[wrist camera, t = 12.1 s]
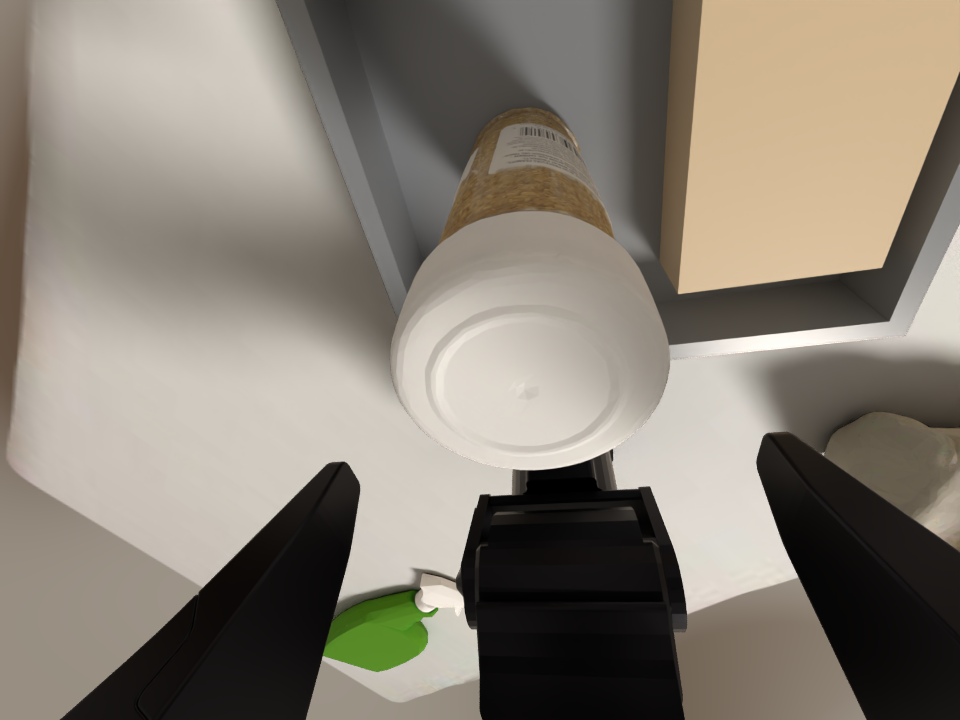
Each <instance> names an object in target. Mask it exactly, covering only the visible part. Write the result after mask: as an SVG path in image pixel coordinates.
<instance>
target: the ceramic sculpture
mask: <svg viewBox="0 0 960 720" xmlns="http://www.w3.org/2000/svg"><path fill="white" fill-rule="evenodd" d="M824 456H825V457H826V458H828V459H829V460H830V461H832V462H833V463H835V464H836V465H838V466H839V467H840V468H842V469H843V470H845V471H846V472H848V473H849V474H850V475H852V476H853V477H855V478H856V479H858V480H859V481H860V482H862V483H863V484H865V485H866V486H868V487H869V488H870V489H872V490H873V491H875V492H876V493H878V494H879V495H880V496H882V497H883V498H885V499H886V500H888V501H889V502H890V503H892V504H893V505H895V506H896V507H897V508H899V509H900V510H902V511H903V512H905V513H906V514H907V515H909V516H910V517H912V518H913V519H915V520H916V521H917V522H919V523H920V524H922V525H923V526H925V527H926V528H927V529H929V530H930V531H932V532H933V533H935V534H936V535H937V536H939V537H940V538H942V539H943V540H945V541H946V542H947V543H949V544H950V545H952V546H953V547H955V548H956V549H957V550H959V551H960V428H929V427H928V426H926V425H924V424H923V423H921V422H919V421H917V420H915V419H912V418H909V417H905V416H900V415H897V414H893V413H888V412H871V413H868V414H865V415H863V416H861V417H860V418H859V419H857V420H856V421H854V422H852V423H849V424H847V425H846V426H844V427H842V428H839V429H838V430H837V431H836V432H835V433H834V434H833V435H832V436H831V437H830V440H829V442H828V445H827V448H826V452H825V454H824Z"/></svg>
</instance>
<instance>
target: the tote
mask: <svg viewBox="0 0 960 720" xmlns="http://www.w3.org/2000/svg"><path fill="white" fill-rule="evenodd" d="M276 2H277V5H278V8H279V10H280V13H281V15H282V18H283V21H284V23H285V26H286V29H287V31H288V34H289V36H290V39H291V42H292V44H293V47H294V50H295V52H296V55H297V57H298V60H299V63H300V65H301V68H302V70H303V73H304V76H305V78H306V81H307V84H308V86H309V89H310V91H311V94H312V97H313V99H314V102H315V105H316V107H317V110H318V112H319V115H320V118H321V120H322V123H323V126H324V128H325V131H326V133H327V136H328V139H329V141H330V144H331V147H332V149H333V152H334V154H335V157H336V160H337V162H338V165H339V167H340V170H341V173H342V175H343V178H344V181H345V183H346V186H347V188H348V191H349V194H350V196H351V199H352V202H353V204H354V207H355V209H356V212H357V215H358V217H359V220H360V223H361V225H362V228H363V230H364V233H365V236H366V238H367V241H368V244H369V246H370V249H371V251H372V254H373V257H374V259H375V262H376V264H377V267H378V270H379V272H380V275H381V278H382V280H383V283H384V285H385V288H386V291H387V293H388V296H389V299H390V301H391V304H392V306H393V309H394V312H395V314H396V317H397V320H398V319H399V316H400V313H401V310H402V307H403V304H404V302H405V299H406V297H407V294H408V292H409V289H410V287H411V285H412V282H413V280H414V278H415V276H416V274H417V272H418V270H419V269H420V267H421V265H422V264H423V262H424V261H425V260H426V258H427V257H428V256H429V255H430V254H431V253H432V252H433V250H434V249H435V248H436V247H437V246H438V243H439V241H440V239H441V236H442V233H443V230H444V227H445V225H446V222H447V220H448V216H449V214H450V212H451V209H452V205H453V200H454V196H455V193H456V190H457V187H458V185H459V182H460V180H461V177H462V174H463V172H464V170H465V167H466V165H467V163H468V161H469V157H470V153H471V151H472V148H473V146H474V144H475V141H476V138H477V136H478V135H479V134H480V132H481V131H482V130H483V129H484V127H485V126H486V125H487V124H488V123H489V122H490V121H491V120H492V119H493V118H495V117H497V116H498V115H500V114H502V113H505V112H507V111H509V110H511V109H519V108H527V107H533V108H538V109H542V110H545V111H548V112H551V113H553V114H554V115H556V116H557V117H558V118H559V119H560V120H561V121H563V122H564V123H565V124H566V125H567V127H568V128H569V129H570V130H571V131H572V132H573V134H574V136H575V138H576V140H577V143H578V145H579V148H580V152H581V156H582V158H583V160H584V162H585V165H586V167H587V169H588V171H589V173H590V175H591V177H592V179H593V182H594V184H595V186H596V188H597V190H598V193H599V195H600V197H601V199H602V202H603V204H604V206H605V209H606V211H607V213H608V216H609V218H610V221H611V224H612V229H613V234H614V237H615V240H616V241H617V242H618V243H619V244H620V245H621V246H622V247H623V248H624V249H625V250H626V251H627V252H628V253H629V255H630V256H631V257H632V258H633V260H634V261H635V263H636V264H637V266H638V267H639V269H640V271H641V273H642V275H643V277H644V279H645V282H646V284H647V286H648V288H649V290H650V292H651V295H652V297H653V299H654V302H655V304H656V307H657V310H658V312H659V315H660V317H661V320H662V323H663V326H664V329H665V332H666V335H667V339H668V344H669V349H670V360H675V359H685V358H694V357H704V356H714V355H724V354H734V353H743V352H753V351H763V350H773V349H783V348H792V347H802V346H812V345H822V344H832V343H841V342H851V341H861V340H871V339H881V338H890V337H900V336H906V334H907V332H908V330H909V328H910V326H911V324H912V322H913V320H914V317H915V315H916V313H917V311H918V309H919V307H920V305H921V303H922V301H923V299H924V297H925V295H926V293H927V290H928V288H929V286H930V284H931V282H932V280H933V278H934V276H935V274H936V272H937V270H938V268H939V266H940V264H941V261H942V259H943V257H944V255H945V253H946V251H947V249H948V247H949V245H950V243H951V241H952V239H953V237H954V234H955V232H956V230H957V228H958V226H959V224H960V72H959V75H958V77H957V80H956V82H955V85H954V87H953V90H952V92H951V95H950V97H949V100H948V102H947V105H946V107H945V110H944V113H943V115H942V118H941V120H940V123H939V125H938V128H937V130H936V133H935V135H934V138H933V140H932V143H931V145H930V148H929V150H928V153H927V156H926V158H925V161H924V163H923V166H922V168H921V171H920V173H919V176H918V178H917V181H916V183H915V186H914V188H913V191H912V193H911V196H910V199H909V201H908V204H907V206H906V209H905V211H904V214H903V216H902V219H901V221H900V224H899V226H898V229H897V231H896V234H895V236H894V239H893V242H892V244H891V247H890V249H889V252H888V254H887V257H886V259H885V262H884V264H883V267H882V268H877V269H869V270H861V271H854V272H846V273H838V274H830V275H823V276H815V277H807V278H800V279H792V280H784V281H777V282H769V283H761V284H753V285H746V286H738V287H730V288H723V289H715V290H707V291H699V292H692V293H684V294H678V293H677V292H676V290H675V288H674V286H673V285H672V283H671V281H670V279H669V277H668V276H667V274H666V272H665V270H664V269H663V267H662V265H661V263H660V262H659V260H660V241H661V221H662V202H663V183H664V163H665V144H666V125H667V106H668V86H669V67H670V48H671V28H672V9H673V0H276Z"/></svg>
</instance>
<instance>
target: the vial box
mask: <svg viewBox="0 0 960 720" xmlns="http://www.w3.org/2000/svg"><path fill="white" fill-rule="evenodd" d="M959 72H960V0H673V9H672V28H671V48H670V67H669V86H668V106H667V125H666V144H665V163H664V183H663V202H662V221H661V241H660V260H659V262H660V263H661V265H662V267H663V269H664V270H665V272H666V274H667V276H668V277H669V279H670V281H671V283H672V285H673V286H674V288H675V290H676V292H677V293H678V294H684V293H692V292H699V291H707V290H715V289H723V288H730V287H738V286H746V285H753V284H761V283H769V282H777V281H784V280H792V279H800V278H807V277H815V276H823V275H830V274H838V273H846V272H854V271H861V270H869V269H877V268H882V267H883V264H884V262H885V259H886V257H887V254H888V252H889V249H890V247H891V244H892V242H893V239H894V236H895V234H896V231H897V229H898V226H899V224H900V221H901V219H902V216H903V214H904V211H905V209H906V206H907V204H908V201H909V199H910V196H911V193H912V191H913V188H914V186H915V183H916V181H917V178H918V176H919V173H920V171H921V168H922V166H923V163H924V161H925V158H926V156H927V153H928V150H929V148H930V145H931V143H932V140H933V138H934V135H935V133H936V130H937V128H938V125H939V123H940V120H941V118H942V115H943V113H944V110H945V107H946V105H947V102H948V100H949V97H950V95H951V92H952V90H953V87H954V85H955V82H956V80H957V77H958V75H959Z"/></svg>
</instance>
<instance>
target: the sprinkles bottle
mask: <svg viewBox="0 0 960 720" xmlns="http://www.w3.org/2000/svg"><path fill="white" fill-rule="evenodd" d="M390 367H391V376H392V380H393V384H394V387H395V390H396V393H397V395H398V398H399V400H400V402H401V404H402V406H403V407H404V409H405V410H406V412H407V413H408V415H409V416H410V417H411V419H412V420H413V421H414V422H415V423H416V425H417V426H418V427H419V428H420V429H421V430H422V431H423V432H424V433H425V434H426V435H428V436H429V437H430V438H432V439H433V440H435V441H436V442H437V443H439V444H440V445H442V446H443V447H445V448H446V449H448V450H450V451H452V452H454V453H456V454H458V455H460V456H463V457H465V458H467V459H470V460H473V461H476V462H479V463H483V464H486V465H490V466H495V467H499V468H508V469H517V470H544V469H553V468H560V467H565V466H570V465H574V464H577V463H581V462H584V461H587V460H590V459H592V458H595V457H597V456H599V455H601V454H603V453H606V452H608V451H610V450H611V449H613V448H615V447H616V446H618V445H620V444H621V443H622V442H624V441H625V440H626V439H628V438H629V437H631V436H632V435H633V434H634V433H635V432H636V431H637V430H638V429H639V428H640V427H641V426H642V425H643V424H644V423H645V422H646V421H647V420H648V419H649V417H650V416H651V414H652V413H653V411H654V410H655V408H656V407H657V405H658V403H659V401H660V399H661V397H662V395H663V392H664V389H665V386H666V383H667V379H668V374H669V368H670V349H669V344H668V339H667V335H666V332H665V329H664V326H663V323H662V320H661V317H660V315H659V312H658V310H657V307H656V304H655V302H654V299H653V297H652V295H651V292H650V290H649V288H648V286H647V284H646V282H645V279H644V277H643V275H642V273H641V271H640V269H639V267H638V266H637V264H636V263H635V261H634V260H633V258H632V257H631V256H630V255H629V253H628V252H627V251H626V250H625V249H624V248H623V247H622V246H621V245H620V244H619V243H618V242H617V241H616V240H615V237H614V234H613V229H612V224H611V221H610V218H609V216H608V213H607V211H606V209H605V206H604V204H603V202H602V199H601V197H600V195H599V193H598V190H597V188H596V186H595V184H594V182H593V179H592V177H591V175H590V173H589V171H588V169H587V167H586V165H585V162H584V160H583V158H582V156H581V152H580V148H579V145H578V143H577V140H576V138H575V136H574V134H573V132H572V131H571V130H570V129H569V128H568V127H567V125H566V124H565V123H564V122H563V121H561V120H560V119H559V118H558V117H557V116H556V115H554V114H553V113H551V112H548V111H545V110H542V109H538V108H533V107H527V108H519V109H511V110H509V111H507V112H505V113H502V114H500V115H498V116H497V117H495V118H493V119H492V120H491V121H490V122H489V123H488V124H487V125H486V126H485V127H484V129H483V130H482V131H481V132H480V134H479V135H478V136H477V138H476V141H475V144H474V146H473V148H472V151H471V153H470V157H469V161H468V163H467V165H466V167H465V170H464V172H463V174H462V177H461V180H460V182H459V185H458V187H457V190H456V193H455V196H454V200H453V205H452V209H451V212H450V214H449V216H448V220H447V222H446V225H445V227H444V230H443V233H442V236H441V239H440V241H439V243H438V246H437V247H436V248H435V249H434V250H433V252H432V253H431V254H430V255H429V256H428V257H427V258H426V260H425V261H424V262H423V264H422V265H421V267H420V269H419V270H418V272H417V274H416V276H415V278H414V280H413V282H412V285H411V287H410V289H409V292H408V294H407V297H406V299H405V302H404V304H403V307H402V310H401V313H400V316H399V319H398V322H397V325H396V328H395V332H394V335H393V338H392V342H391V349H390Z"/></svg>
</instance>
